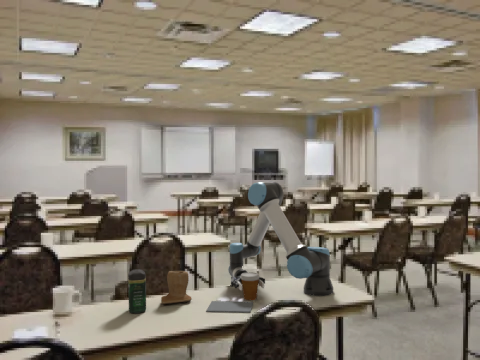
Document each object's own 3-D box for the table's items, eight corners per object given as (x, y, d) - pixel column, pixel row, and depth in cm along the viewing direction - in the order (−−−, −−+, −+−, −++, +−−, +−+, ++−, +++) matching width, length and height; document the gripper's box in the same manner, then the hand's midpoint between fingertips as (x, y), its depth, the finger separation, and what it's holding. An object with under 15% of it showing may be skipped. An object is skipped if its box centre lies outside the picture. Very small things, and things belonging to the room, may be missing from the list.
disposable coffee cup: (260, 301, 209) (259, 276, 209) (240, 301, 209) (240, 276, 209) (259, 295, 219) (259, 271, 218) (240, 295, 219) (240, 272, 218)
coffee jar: (147, 312, 195) (146, 272, 195) (128, 314, 193) (127, 273, 193) (146, 306, 205) (145, 267, 204) (128, 308, 203) (127, 268, 202)
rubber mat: (253, 302, 207) (253, 301, 207) (250, 312, 193) (250, 311, 193) (211, 302, 209) (211, 300, 209) (206, 311, 195) (206, 310, 195)
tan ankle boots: (188, 296, 219) (187, 267, 219) (193, 303, 208) (192, 272, 207) (158, 299, 214) (157, 269, 214) (161, 307, 203) (160, 275, 203)
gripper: (261, 280, 234) (275, 292, 213) (220, 284, 228) (229, 296, 207) (261, 267, 234) (274, 276, 212) (219, 270, 228) (229, 280, 207)
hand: (252, 286), depth 210 cm, fingers open, 10 cm apart
